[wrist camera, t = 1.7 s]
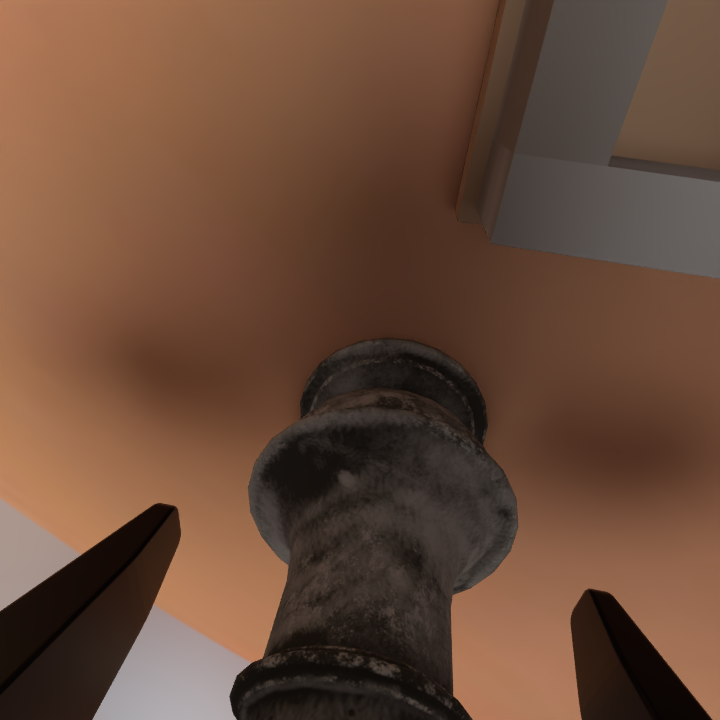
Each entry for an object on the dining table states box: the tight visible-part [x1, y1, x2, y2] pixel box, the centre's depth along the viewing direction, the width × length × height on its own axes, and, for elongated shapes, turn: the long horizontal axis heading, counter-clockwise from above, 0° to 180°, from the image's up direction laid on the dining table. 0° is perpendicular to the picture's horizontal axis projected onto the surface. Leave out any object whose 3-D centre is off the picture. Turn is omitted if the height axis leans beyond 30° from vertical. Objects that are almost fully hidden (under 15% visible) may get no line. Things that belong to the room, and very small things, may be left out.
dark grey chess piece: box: [230, 338, 518, 720], centre depth 8 cm, size 6×6×12 cm
